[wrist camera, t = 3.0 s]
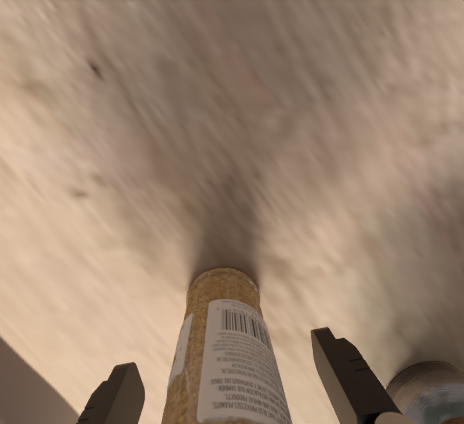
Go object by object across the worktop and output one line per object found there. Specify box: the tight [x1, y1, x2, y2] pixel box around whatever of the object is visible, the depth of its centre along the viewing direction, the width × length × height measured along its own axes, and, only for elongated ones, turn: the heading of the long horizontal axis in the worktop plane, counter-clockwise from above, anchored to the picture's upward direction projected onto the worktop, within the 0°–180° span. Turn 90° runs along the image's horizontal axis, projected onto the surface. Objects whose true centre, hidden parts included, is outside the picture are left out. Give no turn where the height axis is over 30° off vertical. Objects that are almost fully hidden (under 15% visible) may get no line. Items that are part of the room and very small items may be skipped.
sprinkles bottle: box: [161, 267, 292, 424], centre depth 8 cm, size 5×5×13 cm
